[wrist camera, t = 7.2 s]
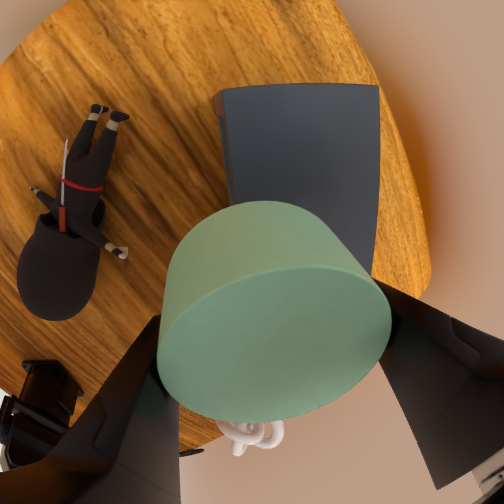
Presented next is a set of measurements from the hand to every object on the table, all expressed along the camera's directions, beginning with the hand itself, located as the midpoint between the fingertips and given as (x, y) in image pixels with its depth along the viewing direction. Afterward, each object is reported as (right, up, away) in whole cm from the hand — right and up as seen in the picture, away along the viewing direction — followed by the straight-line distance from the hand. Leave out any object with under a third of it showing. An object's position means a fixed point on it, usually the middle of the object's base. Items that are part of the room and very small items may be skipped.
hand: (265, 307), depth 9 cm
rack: (+1, +7, +11) cm, 13 cm away
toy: (-13, +5, +9) cm, 17 cm away
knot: (-1, -22, +19) cm, 29 cm away
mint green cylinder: (0, +1, +1) cm, 1 cm away
